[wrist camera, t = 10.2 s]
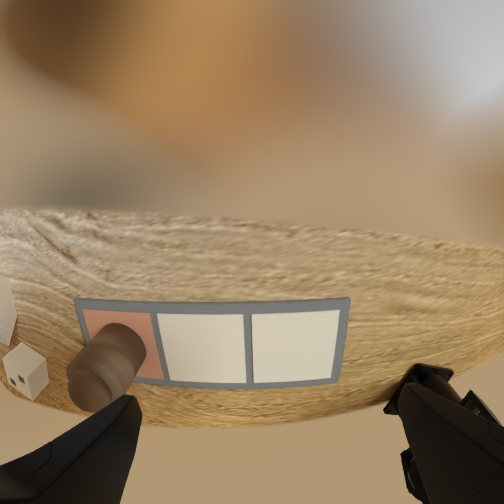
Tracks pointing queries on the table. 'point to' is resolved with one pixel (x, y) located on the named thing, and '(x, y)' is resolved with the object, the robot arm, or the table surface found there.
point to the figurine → (6, 311)
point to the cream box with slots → (26, 370)
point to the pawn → (105, 367)
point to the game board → (230, 340)
